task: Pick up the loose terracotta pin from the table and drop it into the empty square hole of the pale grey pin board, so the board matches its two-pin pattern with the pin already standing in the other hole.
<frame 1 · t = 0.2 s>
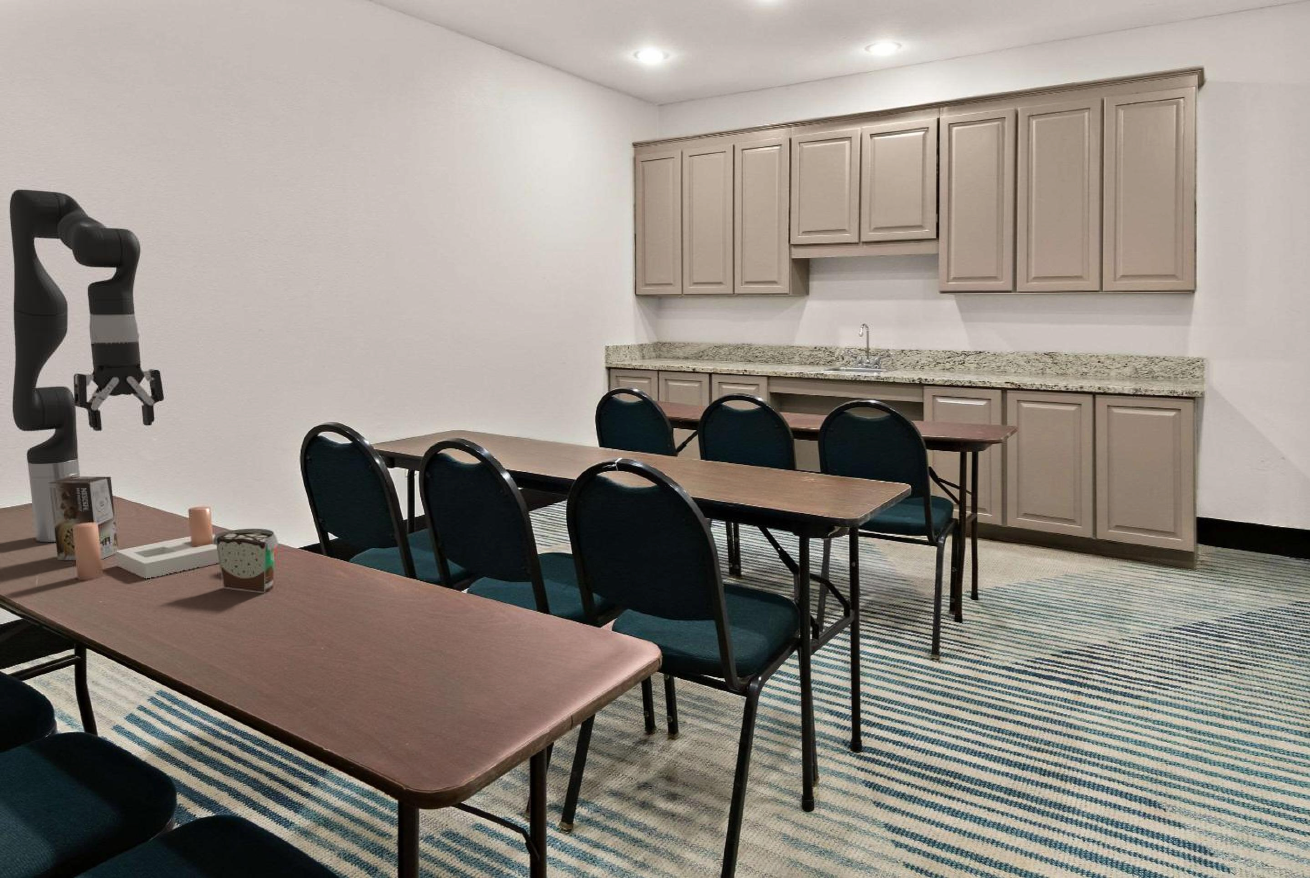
hand: (122, 427, 165), 28 cm above the table, tool pointing down, fingers open, 8 cm apart
clementine: (256, 567, 174), on the table
pin: (90, 576, 168), on the table
food container: (256, 586, 162), on the table
coffee box: (88, 557, 182), on the table
pin board: (180, 561, 177), on the table
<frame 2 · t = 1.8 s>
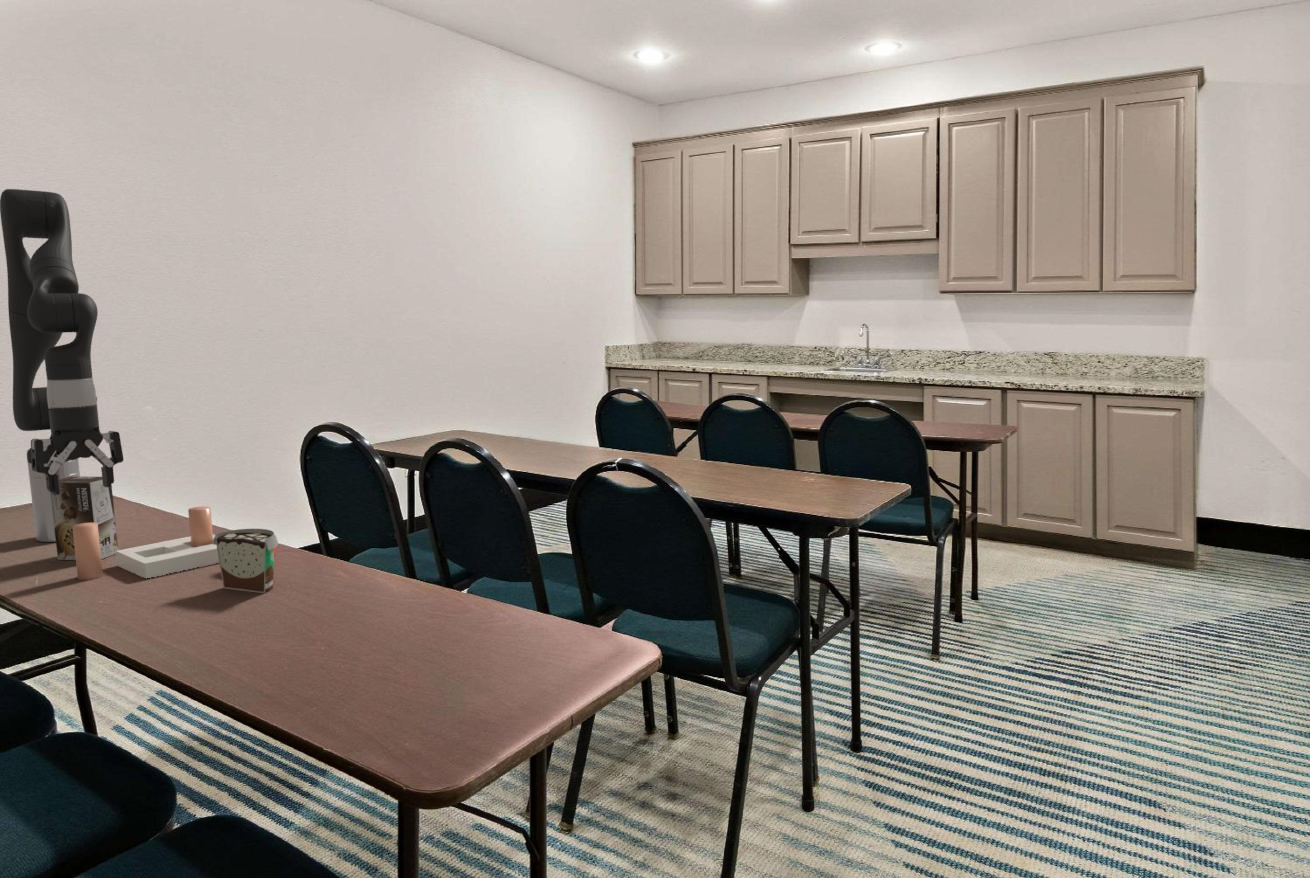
hand: (81, 490, 165), 17 cm above the table, tool pointing down, fingers open, 8 cm apart
nothing on the table moved.
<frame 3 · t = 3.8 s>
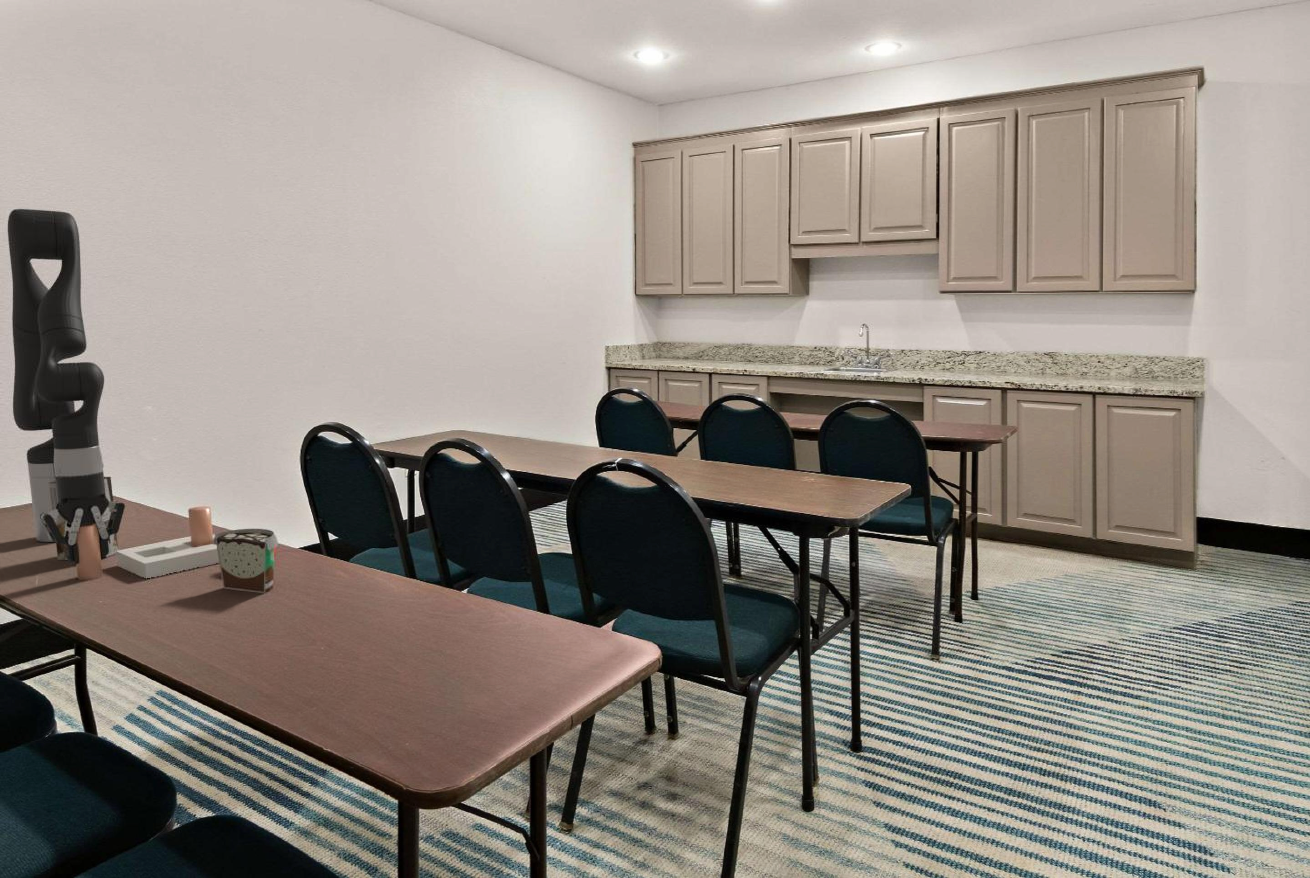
hand: (88, 560, 167), 3 cm above the table, tool pointing down, fingers closed on pin, 4 cm apart
pin: (90, 576, 168), on the table, touching gripper
everything else where it was.
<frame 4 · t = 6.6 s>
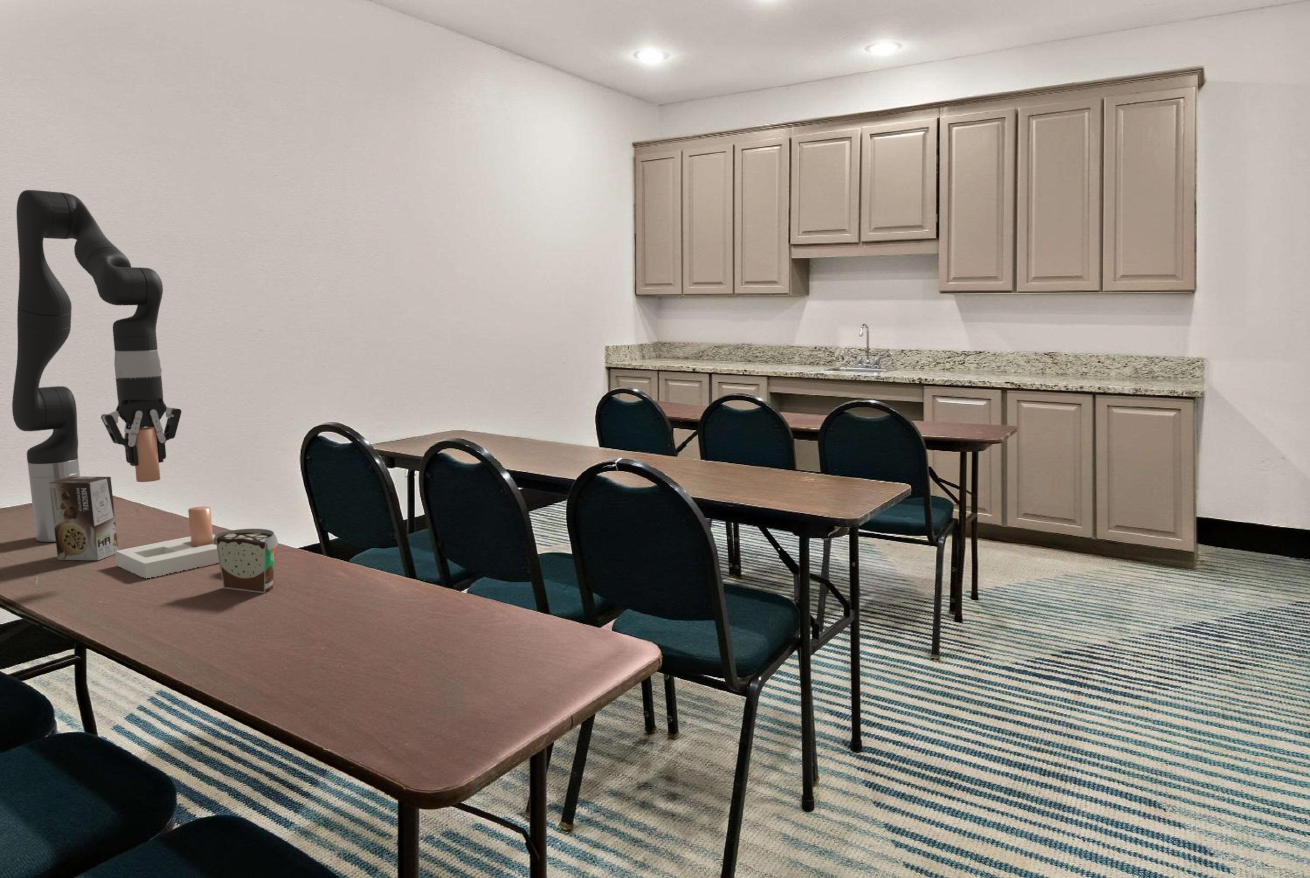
hand: (146, 463, 171), 21 cm above the table, tool pointing down, fingers closed on pin, 4 cm apart
pin: (148, 480, 171), point 17 cm above the table, touching gripper
everything else where it was.
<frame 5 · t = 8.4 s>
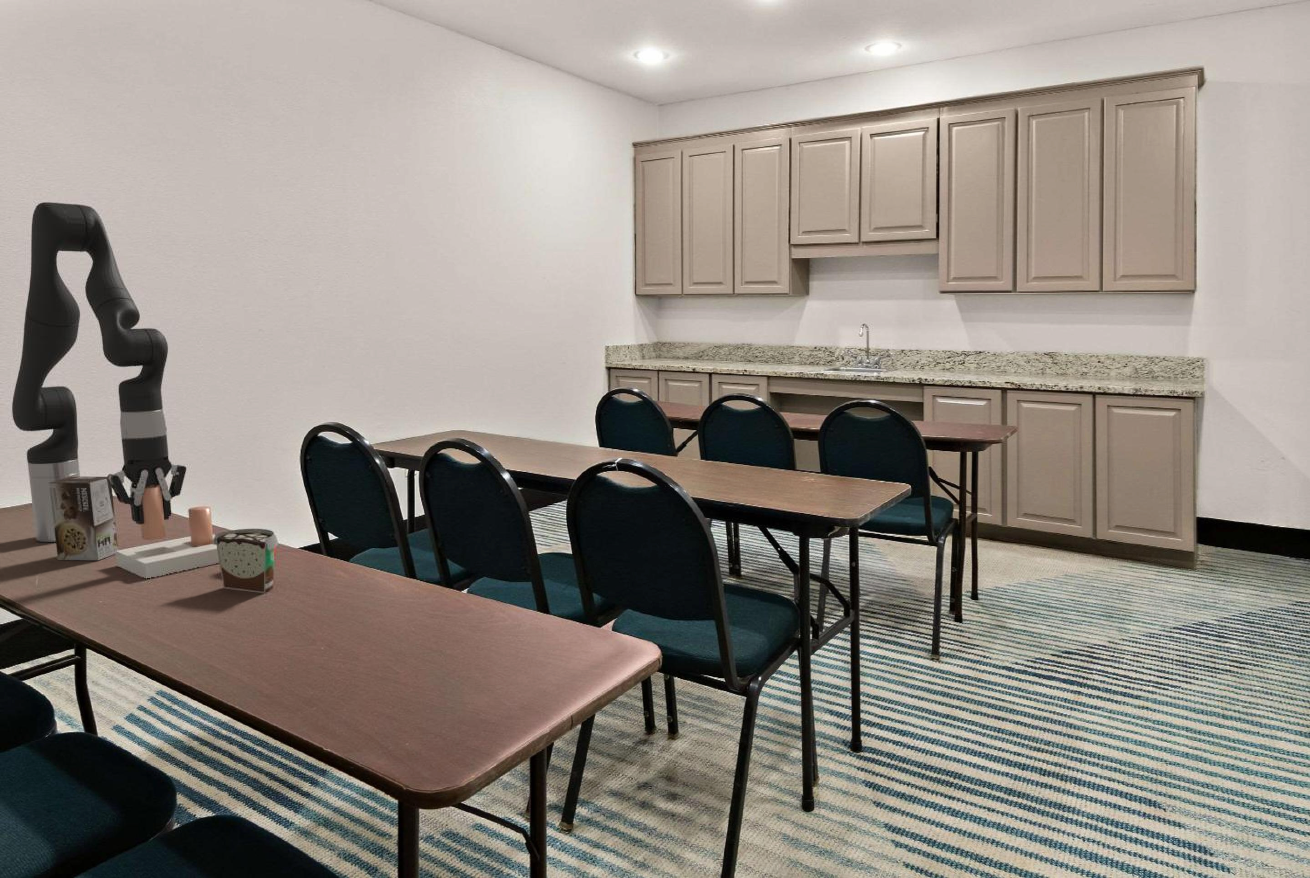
hand: (152, 521, 172), 9 cm above the table, tool pointing down, fingers closed on pin, 4 cm apart
pin: (154, 537, 173), point 6 cm above the table, touching gripper
everything else where it was.
when the fingers open (5 cm above the table, at t = 9.7 s): pin drops 1 cm, resting in pin board.
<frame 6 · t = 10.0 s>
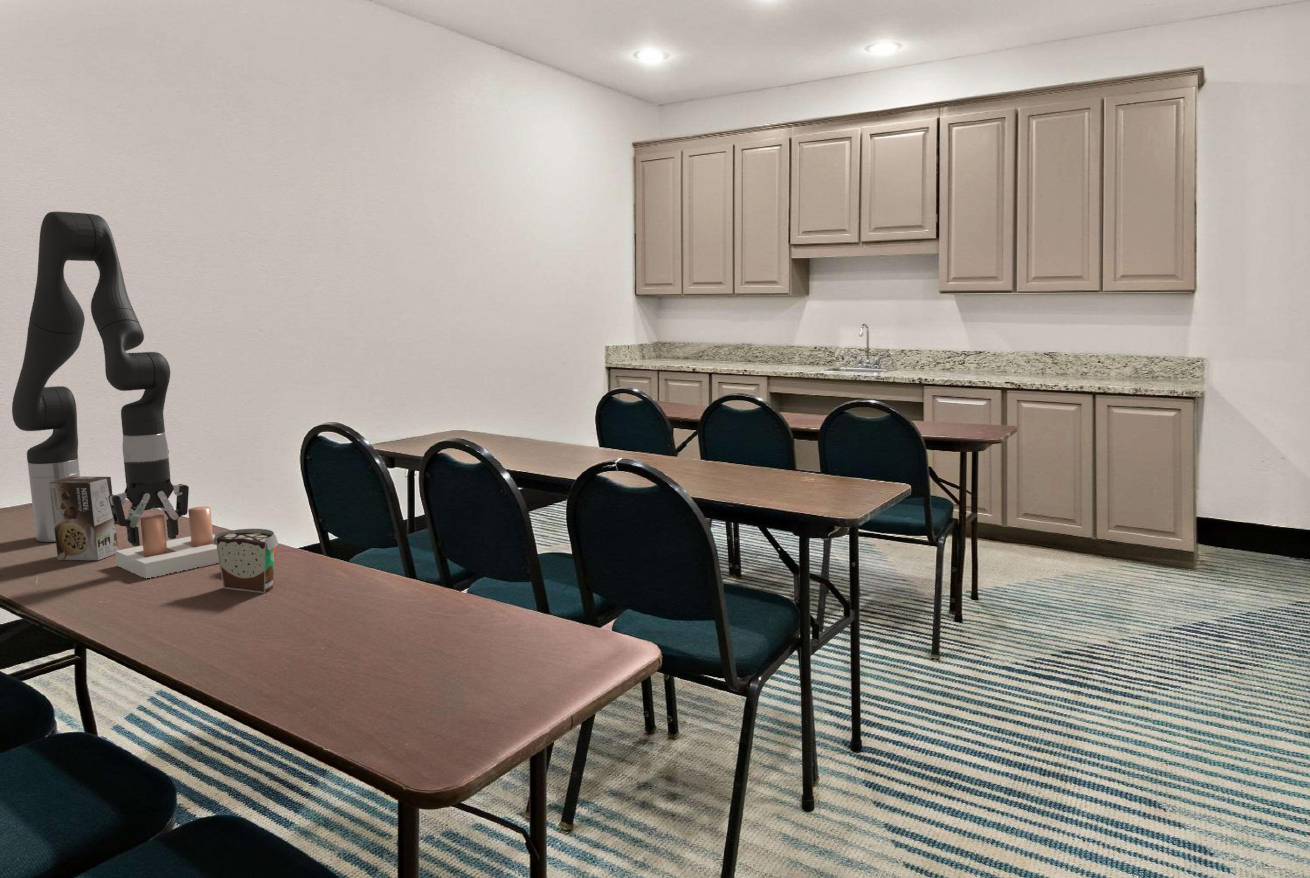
hand: (154, 541, 173), 5 cm above the table, tool pointing down, fingers open, 6 cm apart
pin: (156, 566, 174), resting in pin board
everything else where it was.
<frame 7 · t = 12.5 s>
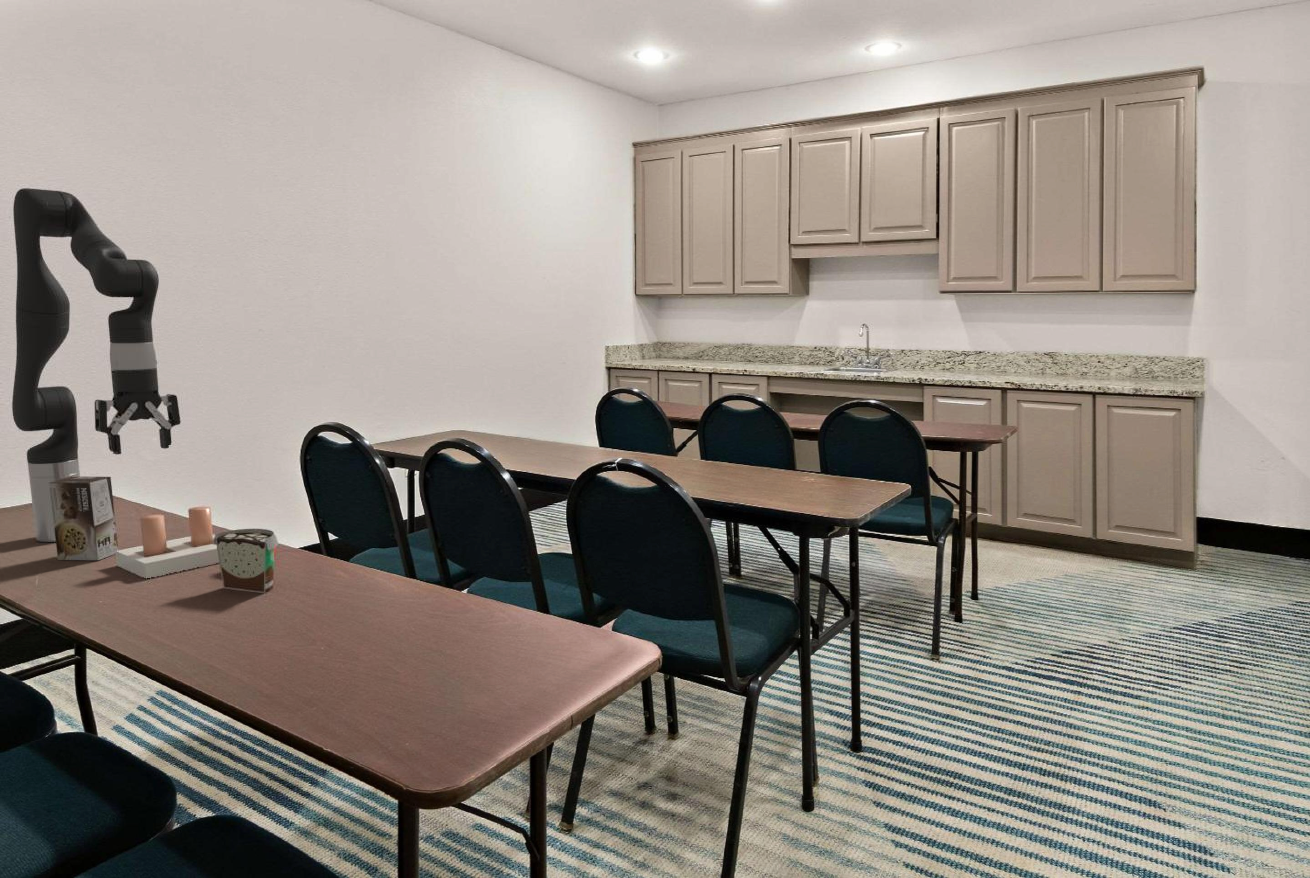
hand: (141, 451, 171), 23 cm above the table, tool pointing down, fingers open, 8 cm apart
nothing on the table moved.
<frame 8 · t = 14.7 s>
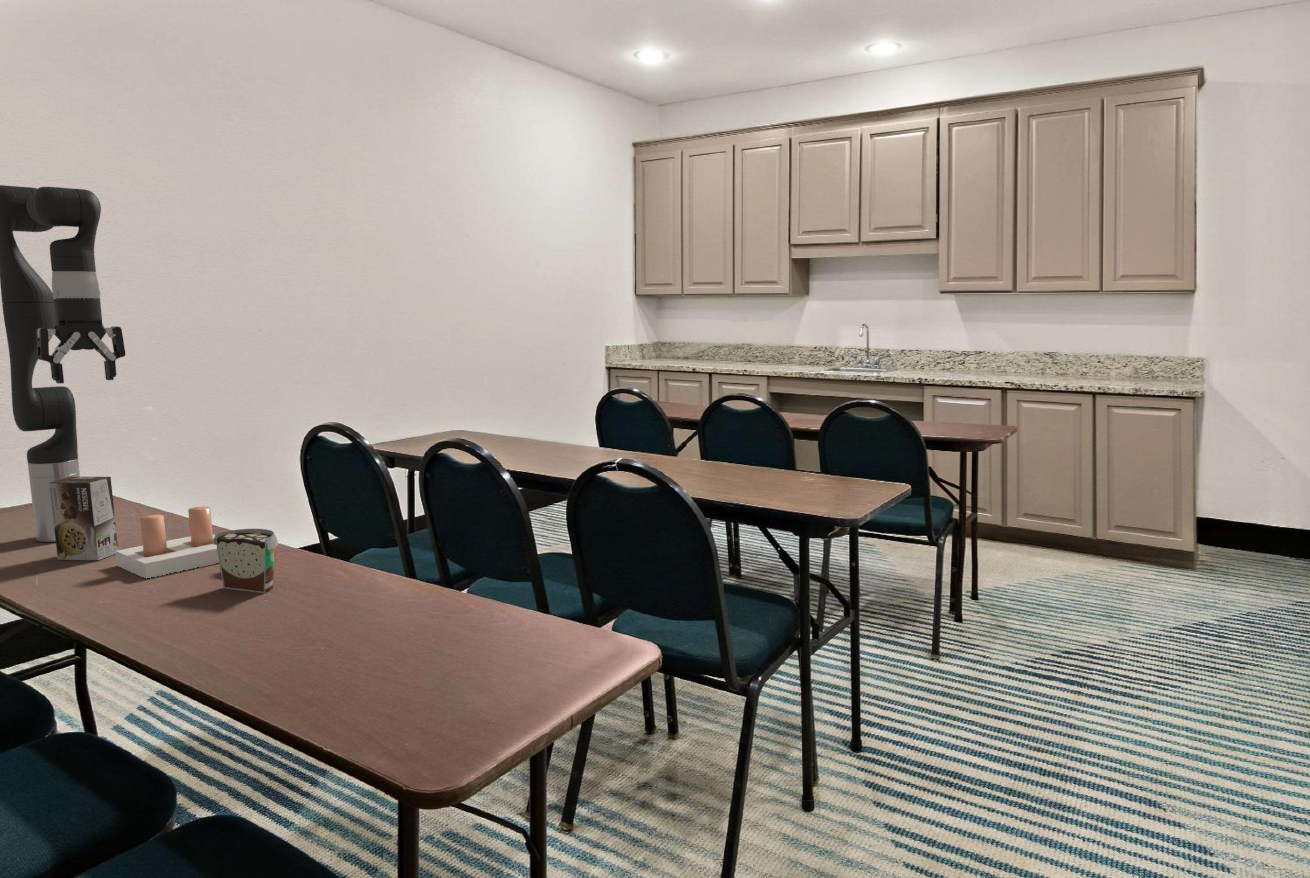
hand: (85, 381, 171), 36 cm above the table, tool pointing down, fingers open, 8 cm apart
nothing on the table moved.
at the end: pin 0.1 cm from the target spot on the pin board, point 0.0 cm above the pin board's base; pin tilted 0°; the gripper is holding nothing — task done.
